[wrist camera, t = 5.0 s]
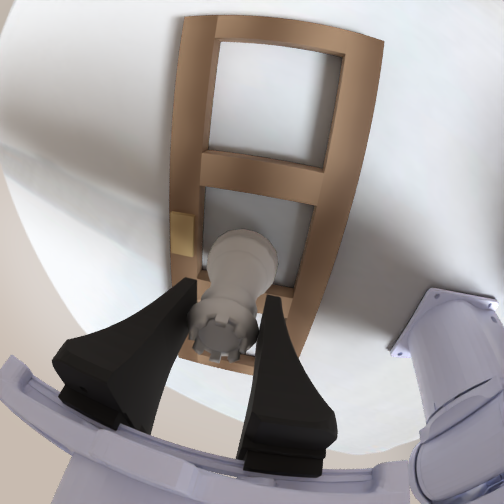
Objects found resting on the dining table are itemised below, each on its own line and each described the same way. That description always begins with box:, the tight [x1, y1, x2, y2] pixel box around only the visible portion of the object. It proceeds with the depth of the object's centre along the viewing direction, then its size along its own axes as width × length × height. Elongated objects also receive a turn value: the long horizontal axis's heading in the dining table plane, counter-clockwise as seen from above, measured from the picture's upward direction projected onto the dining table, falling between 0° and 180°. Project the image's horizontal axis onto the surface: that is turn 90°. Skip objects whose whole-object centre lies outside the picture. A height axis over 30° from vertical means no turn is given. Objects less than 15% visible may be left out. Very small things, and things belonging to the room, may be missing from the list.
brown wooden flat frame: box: [169, 15, 384, 375], centre depth 18 cm, size 11×28×2 cm, turn 173°
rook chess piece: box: [186, 229, 278, 363], centre depth 15 cm, size 4×4×8 cm
